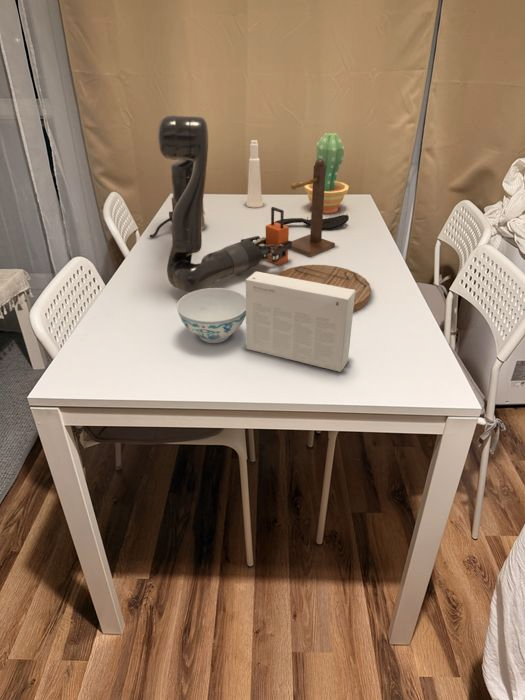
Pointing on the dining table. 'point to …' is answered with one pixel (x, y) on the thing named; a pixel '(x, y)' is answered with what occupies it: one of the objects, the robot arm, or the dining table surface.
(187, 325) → the chinaware
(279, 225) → the orange handled weight
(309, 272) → the trivet
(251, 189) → the cosmetic bottle
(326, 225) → the hairbrush
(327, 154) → the potted cactus
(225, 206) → the dining table surface
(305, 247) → the hook stand
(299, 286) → the skincare box
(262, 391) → the dining table surface
